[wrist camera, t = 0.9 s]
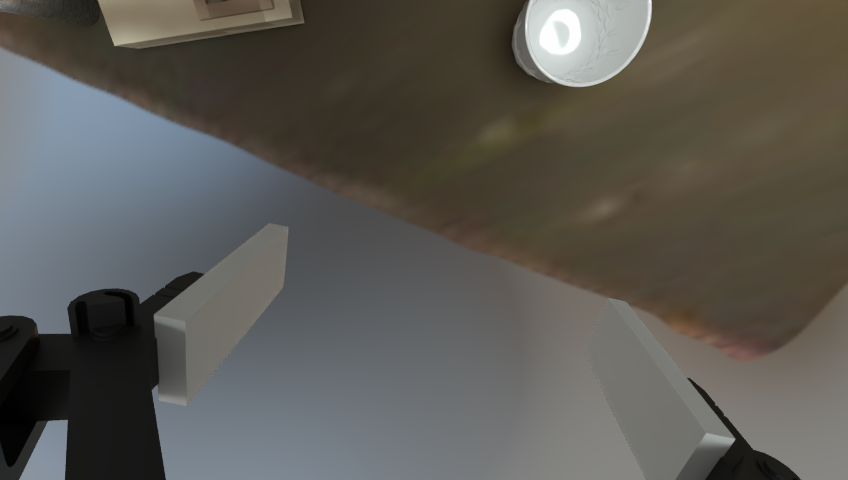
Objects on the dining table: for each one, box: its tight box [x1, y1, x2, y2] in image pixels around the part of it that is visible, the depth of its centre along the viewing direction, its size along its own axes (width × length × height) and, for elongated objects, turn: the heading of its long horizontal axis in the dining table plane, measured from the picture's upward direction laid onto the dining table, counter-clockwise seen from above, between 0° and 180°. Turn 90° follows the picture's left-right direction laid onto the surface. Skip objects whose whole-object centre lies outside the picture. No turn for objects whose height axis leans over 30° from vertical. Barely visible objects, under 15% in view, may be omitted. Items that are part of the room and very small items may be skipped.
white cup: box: [512, 0, 652, 87], centre depth 30 cm, size 8×8×10 cm
